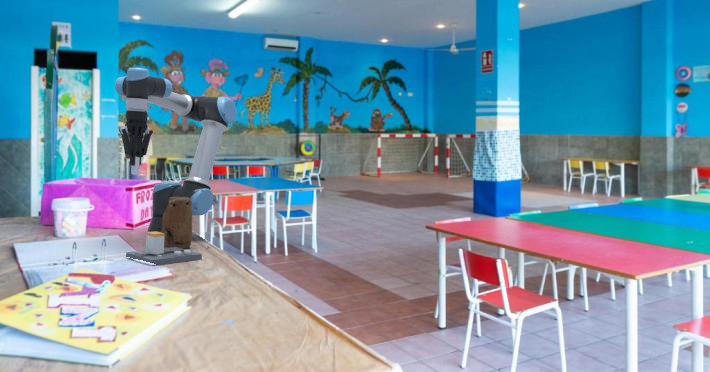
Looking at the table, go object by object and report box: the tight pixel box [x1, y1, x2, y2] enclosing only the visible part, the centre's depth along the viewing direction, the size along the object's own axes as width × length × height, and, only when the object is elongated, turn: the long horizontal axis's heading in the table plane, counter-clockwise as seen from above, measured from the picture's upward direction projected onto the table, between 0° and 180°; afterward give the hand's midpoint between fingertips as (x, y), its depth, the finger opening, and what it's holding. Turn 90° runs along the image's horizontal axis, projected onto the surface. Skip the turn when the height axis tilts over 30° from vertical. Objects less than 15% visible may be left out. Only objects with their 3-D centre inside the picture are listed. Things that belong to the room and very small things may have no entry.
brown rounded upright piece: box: [161, 196, 193, 250], centre depth 228 cm, size 11×8×20 cm
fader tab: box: [145, 231, 165, 254], centre depth 205 cm, size 4×5×7 cm
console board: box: [125, 247, 203, 266], centre depth 208 cm, size 20×16×4 cm
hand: (135, 174), depth 218 cm, fingers closed
